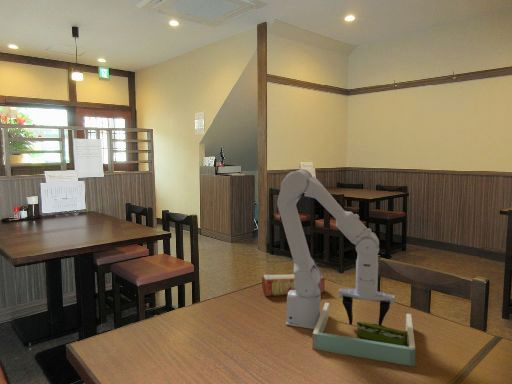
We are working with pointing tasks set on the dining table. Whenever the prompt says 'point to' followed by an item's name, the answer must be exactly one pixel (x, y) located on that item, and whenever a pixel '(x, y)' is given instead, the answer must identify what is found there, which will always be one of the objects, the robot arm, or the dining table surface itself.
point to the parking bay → (364, 344)
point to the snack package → (282, 284)
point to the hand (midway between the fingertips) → (365, 325)
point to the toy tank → (381, 334)
